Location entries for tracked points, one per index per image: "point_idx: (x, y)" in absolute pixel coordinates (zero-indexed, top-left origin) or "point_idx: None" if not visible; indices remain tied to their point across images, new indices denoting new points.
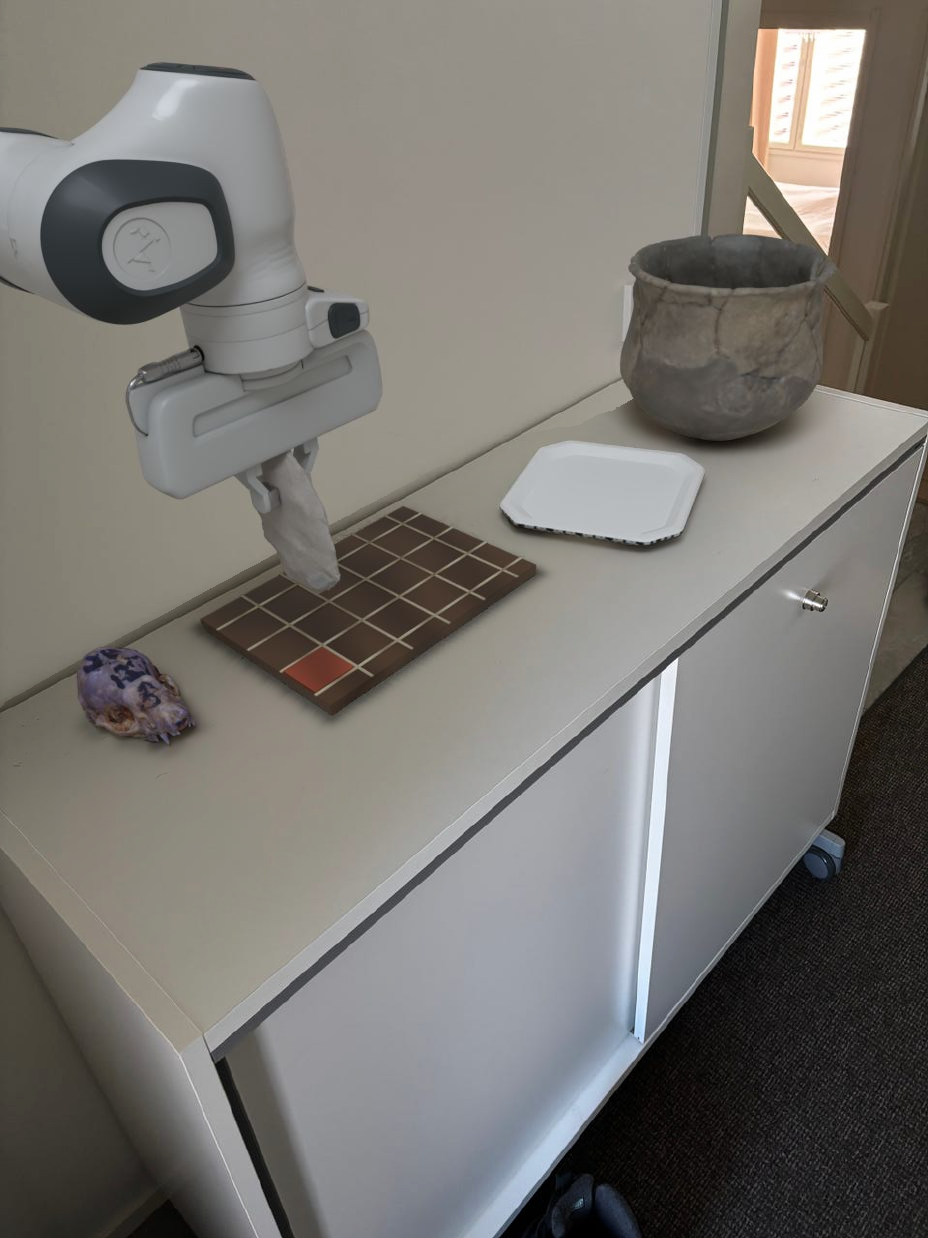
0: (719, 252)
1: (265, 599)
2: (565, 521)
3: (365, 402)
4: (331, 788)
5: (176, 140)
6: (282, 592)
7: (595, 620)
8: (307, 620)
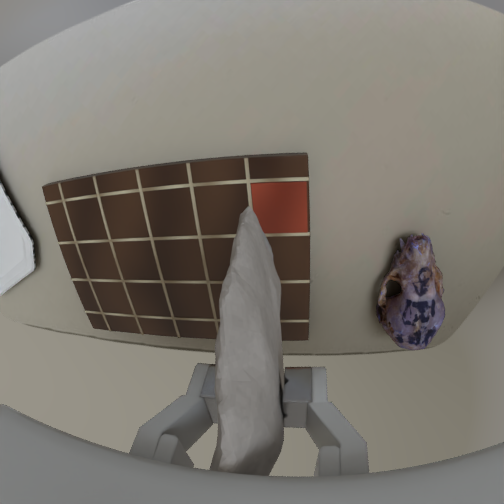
0: None
1: None
2: (7, 216)
3: (2, 430)
4: (369, 78)
5: None
6: None
7: (48, 97)
8: None
